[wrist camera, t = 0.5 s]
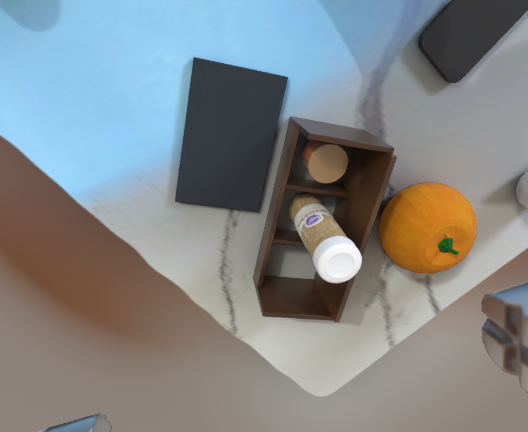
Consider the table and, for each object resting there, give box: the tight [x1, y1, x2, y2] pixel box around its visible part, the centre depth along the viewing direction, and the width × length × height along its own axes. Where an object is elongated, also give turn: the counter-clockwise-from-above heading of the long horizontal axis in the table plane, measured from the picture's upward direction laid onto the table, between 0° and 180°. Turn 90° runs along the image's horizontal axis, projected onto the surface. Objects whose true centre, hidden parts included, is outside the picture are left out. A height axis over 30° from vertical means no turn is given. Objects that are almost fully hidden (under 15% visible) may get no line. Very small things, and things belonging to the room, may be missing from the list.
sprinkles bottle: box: [288, 193, 362, 283], centre depth 44 cm, size 5×5×14 cm
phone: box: [419, 0, 528, 83], centre depth 43 cm, size 7×1×15 cm
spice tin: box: [302, 140, 348, 183], centre depth 46 cm, size 5×5×4 cm
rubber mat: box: [175, 57, 288, 212], centre depth 45 cm, size 16×10×1 cm, turn 168°
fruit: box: [379, 182, 477, 273], centre depth 49 cm, size 12×12×10 cm
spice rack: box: [253, 117, 397, 322], centre depth 46 cm, size 22×9×9 cm, turn 168°
